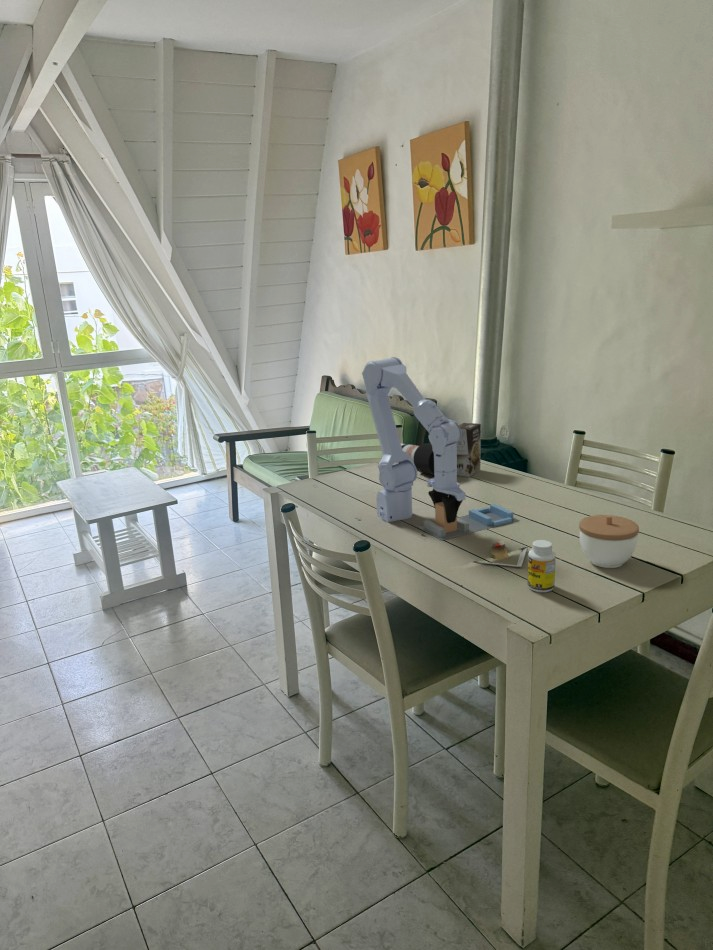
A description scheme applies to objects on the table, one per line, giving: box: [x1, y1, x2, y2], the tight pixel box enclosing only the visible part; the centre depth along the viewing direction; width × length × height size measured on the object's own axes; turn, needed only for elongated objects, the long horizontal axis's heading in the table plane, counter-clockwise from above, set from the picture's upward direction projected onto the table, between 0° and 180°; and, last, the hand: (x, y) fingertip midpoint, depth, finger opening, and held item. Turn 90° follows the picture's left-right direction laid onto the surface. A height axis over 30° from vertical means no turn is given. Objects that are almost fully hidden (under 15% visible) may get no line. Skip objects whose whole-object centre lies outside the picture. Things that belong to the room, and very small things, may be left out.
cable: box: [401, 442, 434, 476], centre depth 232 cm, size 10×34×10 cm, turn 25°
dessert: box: [473, 538, 528, 568], centre depth 159 cm, size 12×12×5 cm
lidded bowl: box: [578, 514, 640, 569], centre depth 151 cm, size 13×13×11 cm
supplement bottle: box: [527, 539, 557, 593], centre depth 141 cm, size 6×6×10 cm
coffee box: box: [456, 422, 482, 478], centre depth 221 cm, size 9×6×16 cm
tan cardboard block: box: [434, 502, 458, 533], centre depth 173 cm, size 4×4×7 cm
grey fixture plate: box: [417, 503, 520, 541], centre depth 177 cm, size 25×11×3 cm, turn 117°
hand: (446, 519), depth 174 cm, fingers closed on tan cardboard block, 4 cm apart
